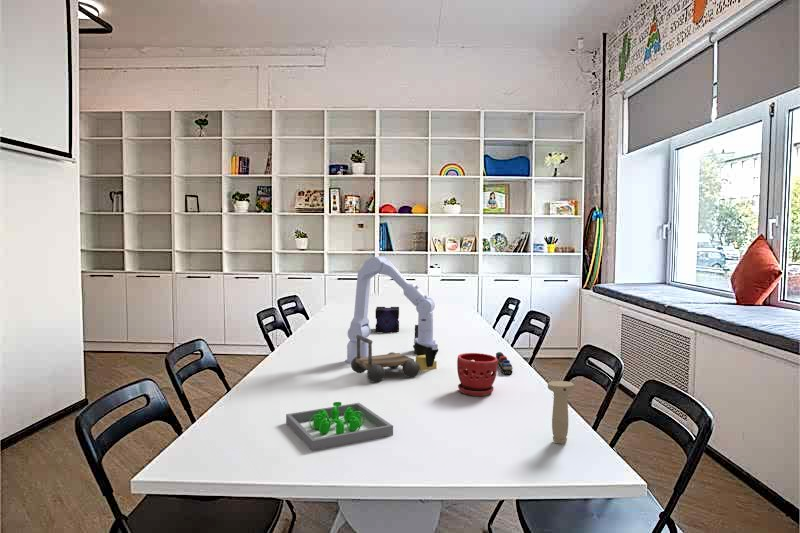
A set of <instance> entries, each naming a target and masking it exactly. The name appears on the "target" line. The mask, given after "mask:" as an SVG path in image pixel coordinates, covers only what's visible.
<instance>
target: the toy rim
mask: <svg viewBox="0 0 800 533" xmlns="http://www.w3.org/2000/svg"><path fill="white" fill-rule="evenodd" d="M333 407H334V406H329V407H322V408H319V409H318V408H317V409H312V410H311V409H310V410H305V411H298V412H292V413H286V414H285V417H286V418H285V423H286V425H287V426H288V427H289V426H290V427H289V428H290V429H291V430H292V431H293V432H294V433H295V434H296V436H298V437H299V438H300V440H302V442H303V443H305V445H306V446H307V447H308V448H309V449H310V450H311V451H312V452H315V451H320V450H324V449H330V448H334V447H340V446H346V445H350V443H351V444H353V443H354V444H355V442H356V443H360V442H359V441H361V442H366V441H370V439H371V440H376V439H380V438H379V437H381V438H384V437H383V436H386V437H390V436H389V435H392V436H394V425H392V424H391V423H390V422H388V421H387V420H385V419H384V418H382V417H381V416H379V415H378V414H376V413H375V412H373V411H372V410H370V409H369V408H367V407H366V406H364V405H363V404H362V403H360V402H354V403H349V404H343V405H342V404H341V406H338V412H339V416H344V413H345V411H346V409H347V408H348V407H352V408H353V409H354V412H355V411H360V412H362V413H363V414H364V416H363V414H362V413H359V414H360V416H361V417H363V418H364V417H365V420H367V421H368V420H369V421H368V422H370V423H371V422H372V423H371V424H372V425H374V424H375V425H376V426H375V425H374V426H375V427H371V428H366V429H361V430H360V429H359V431H357V430H356V431H350V432H344V433H343V434H334V435H327V436H324V437H318V438H315V437H314V436H313V435H312V434H311V433H310V432H309V431H307V429H306V428H305V427H304V426H303V425H302V424H301V423H303V422H308V421H309V422H310V419H311V417H312V416H313V415H316V412H317V411H318V410H319V411H318V413H317V414H319V412H320V411H321V410H320V409H323V410H325V411H326V412H327V414H328V418H331V411H332V409H333ZM336 408H337V406H336ZM351 410H352V409H351ZM314 417H315V416H314ZM314 417H313V418H312V419H311V421H313V420H314ZM326 418H327V416H326ZM375 438H376V439H375ZM365 440H366V441H365ZM345 444H346V445H345Z"/></svg>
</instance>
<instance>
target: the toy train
mask: <svg viewBox="0 0 800 533" xmlns="http://www.w3.org/2000/svg"><path fill="white" fill-rule="evenodd" d="M495 357H496V358H497V360H498V365H497V367H498V368H499V369H500V370H501V372H502V373H503V375H506V374H510V373H511V374H510V375H512V374H513V372H514V371H513V367H514V366H513V365H512V363H511V361H510V360H509V359H508V358H507V356H505V355H504V354H503V352H501V351H498V352H496V353H495Z"/></svg>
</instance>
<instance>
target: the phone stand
mask: <svg viewBox="0 0 800 533" xmlns="http://www.w3.org/2000/svg"><path fill="white" fill-rule="evenodd" d="M414 338H418V324H415V325H414ZM413 345H416V343H414V342H413ZM427 348H428V347H427ZM413 350H414V351H413V355H416V352H415V349H414V348H413Z"/></svg>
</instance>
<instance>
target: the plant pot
mask: <svg viewBox="0 0 800 533" xmlns="http://www.w3.org/2000/svg"><path fill="white" fill-rule="evenodd" d="M456 364H457V365H456V366H457V367H456V369H457V376H458V379H459V384H457V388H458V390H459V391H460V392H461V393H462V394H465V395H468V396H473V397H480V396H481V397H482V396H488V395H490V394H491V393H493V391H494V388H495V387H494V386H493V384H494V382H495V380H496V377H497V372H498V360H497V358H496V356H493V355H490V354H487V353H479V352H478V353H477V352H467V353H466V352H465V353H461V354H458V355H457V359H456Z"/></svg>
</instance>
